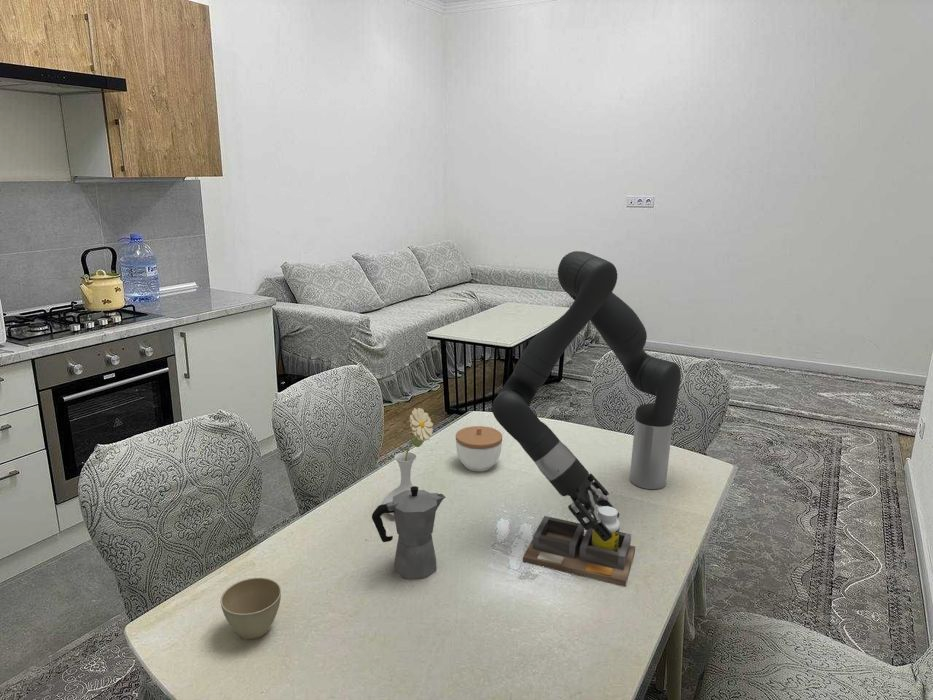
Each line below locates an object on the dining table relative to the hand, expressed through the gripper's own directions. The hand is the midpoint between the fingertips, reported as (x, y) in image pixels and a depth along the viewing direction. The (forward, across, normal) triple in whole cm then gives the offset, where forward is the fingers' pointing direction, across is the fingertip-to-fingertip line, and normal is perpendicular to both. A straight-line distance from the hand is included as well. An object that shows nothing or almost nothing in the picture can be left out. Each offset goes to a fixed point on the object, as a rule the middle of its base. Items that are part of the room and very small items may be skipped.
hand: (612, 528), depth 134 cm
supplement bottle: (+4, 0, +5) cm, 6 cm away
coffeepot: (-21, -19, +32) cm, 42 cm away
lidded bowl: (-24, +30, +34) cm, 51 cm away
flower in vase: (-29, +2, +39) cm, 49 cm away
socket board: (+1, -2, +10) cm, 10 cm away
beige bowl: (-33, -46, +44) cm, 71 cm away
